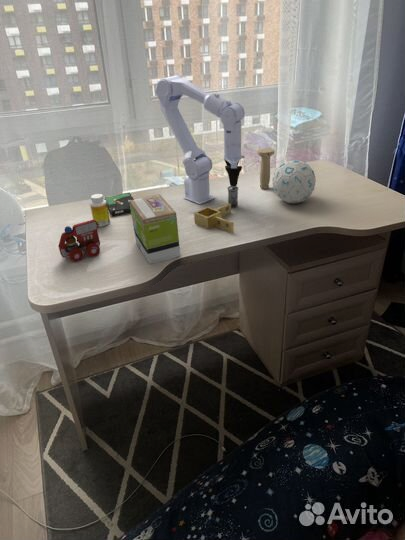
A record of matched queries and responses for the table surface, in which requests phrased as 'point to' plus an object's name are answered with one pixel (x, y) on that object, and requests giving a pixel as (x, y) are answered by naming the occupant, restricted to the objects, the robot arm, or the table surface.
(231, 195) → the pin
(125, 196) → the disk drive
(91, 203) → the supplement bottle
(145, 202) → the tea box
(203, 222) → the gold square socket frame
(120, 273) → the table surface
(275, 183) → the puzzle ball
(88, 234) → the toy fire truck
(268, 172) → the handle
